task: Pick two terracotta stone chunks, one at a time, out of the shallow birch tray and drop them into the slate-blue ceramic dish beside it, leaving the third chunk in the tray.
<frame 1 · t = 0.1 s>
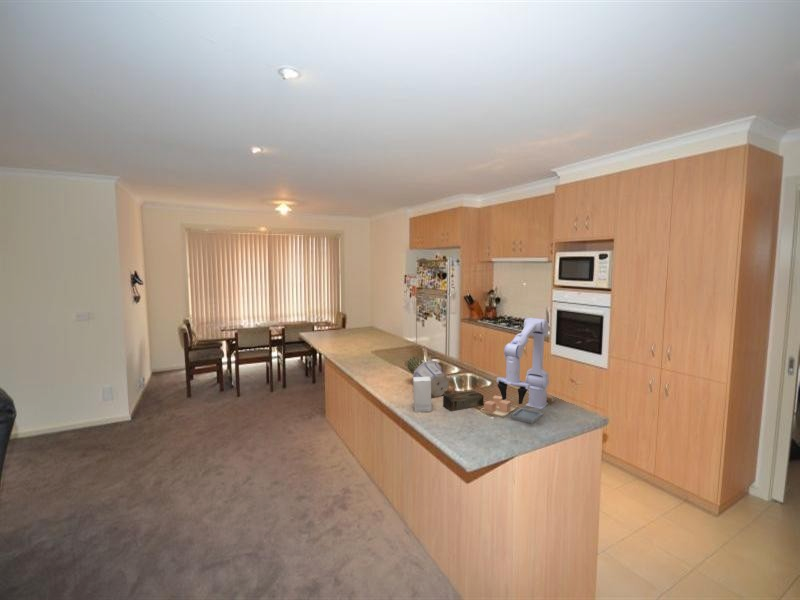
hand: (512, 401, 169), 10 cm above the countertop, fingers open, 7 cm apart
chunk c: (497, 405, 191), resting on birch tray
potted plant: (425, 390, 215), on the countertop
chunk a: (504, 409, 185), resting on birch tray
beverage carton: (463, 407, 190), on the countertop
skincare box: (422, 410, 186), on the countertop
birch tray: (499, 410, 185), on the countertop
slate dish: (526, 417, 177), on the countertop
chunk b: (489, 410, 184), resting on birch tray
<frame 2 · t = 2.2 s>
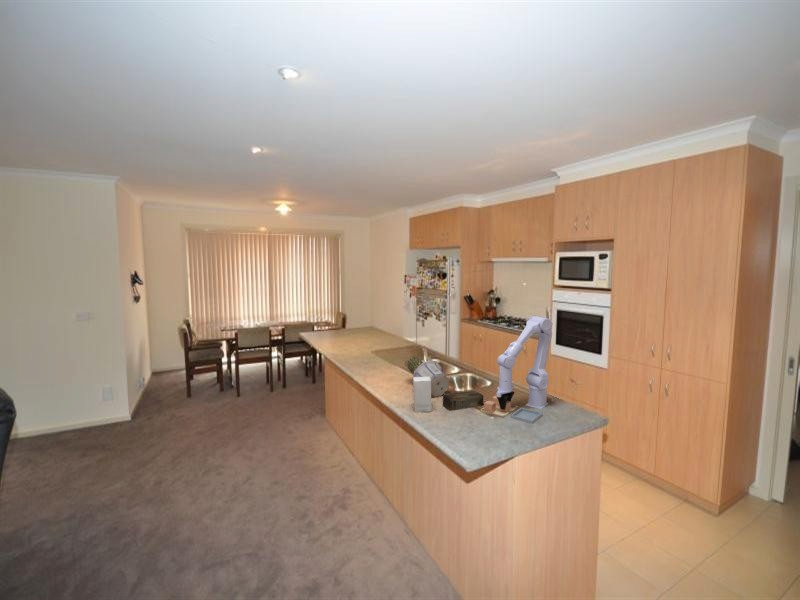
hand: (504, 407, 184), 2 cm above the countertop, fingers closed on chunk a, 4 cm apart
chunk a: (504, 409, 185), resting on birch tray, touching gripper
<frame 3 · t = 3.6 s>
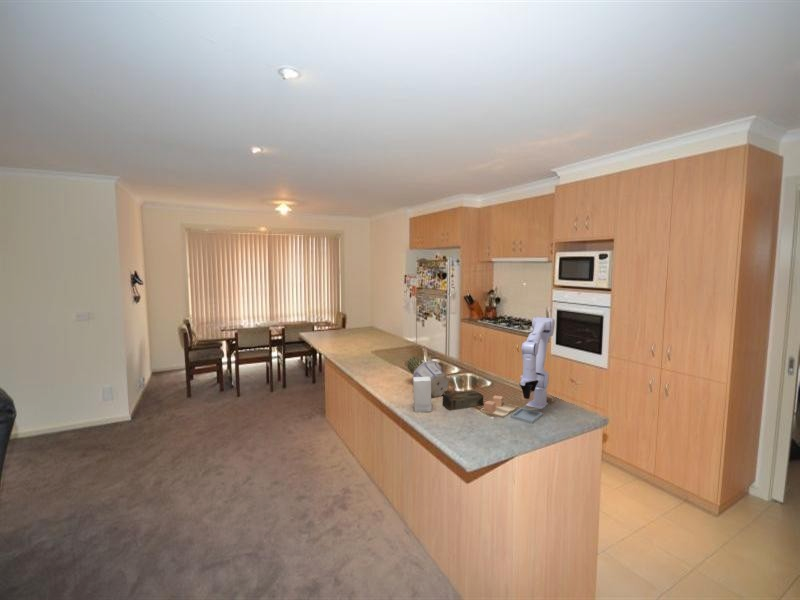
hand: (528, 396, 178), 9 cm above the countertop, fingers closed on chunk a, 4 cm apart
chunk a: (527, 399, 178), point 8 cm above the countertop, touching gripper
everything else where it was.
when the fingers open (3 cm above the countertop, at t = 5.2 s): chunk a drops 2 cm, resting on slate dish.
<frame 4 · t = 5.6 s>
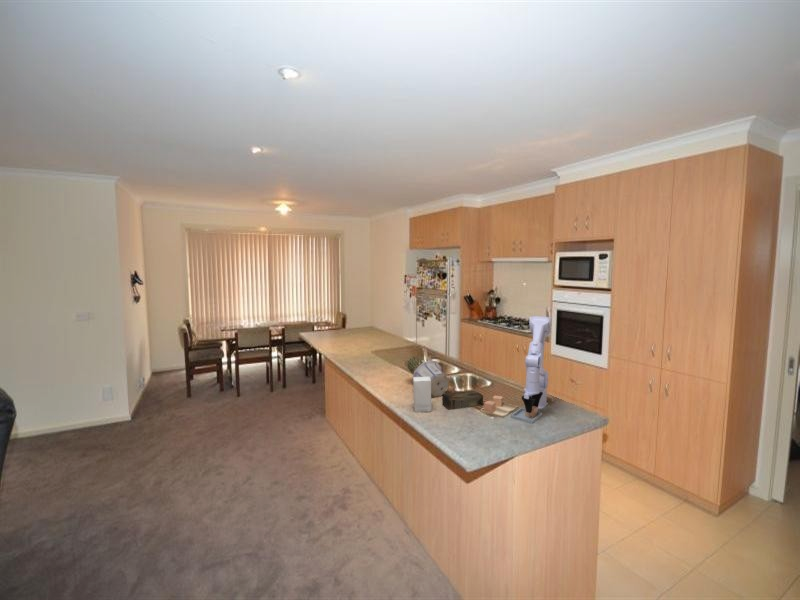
hand: (532, 409, 177), 3 cm above the countertop, fingers open, 7 cm apart
chunk a: (531, 415, 178), resting on slate dish
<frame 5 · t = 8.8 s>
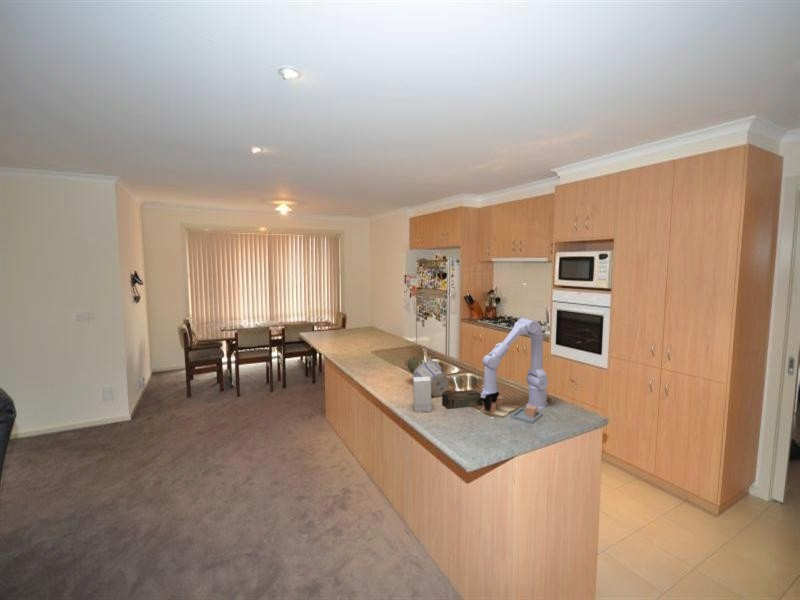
hand: (489, 408, 183), 2 cm above the countertop, fingers closed on chunk b, 4 cm apart
chunk b: (489, 410, 184), resting on birch tray, touching gripper
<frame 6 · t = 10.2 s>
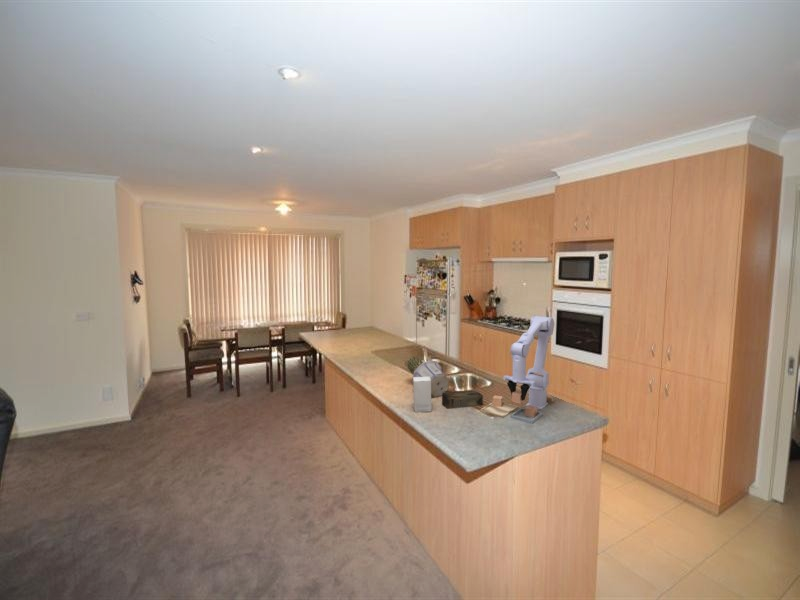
hand: (518, 398, 176), 9 cm above the countertop, fingers closed on chunk b, 4 cm apart
chunk b: (518, 401, 176), point 8 cm above the countertop, touching gripper
when the fingers open (3 cm above the countertop, at t = 11.8 s): chunk b drops 2 cm, resting on slate dish.
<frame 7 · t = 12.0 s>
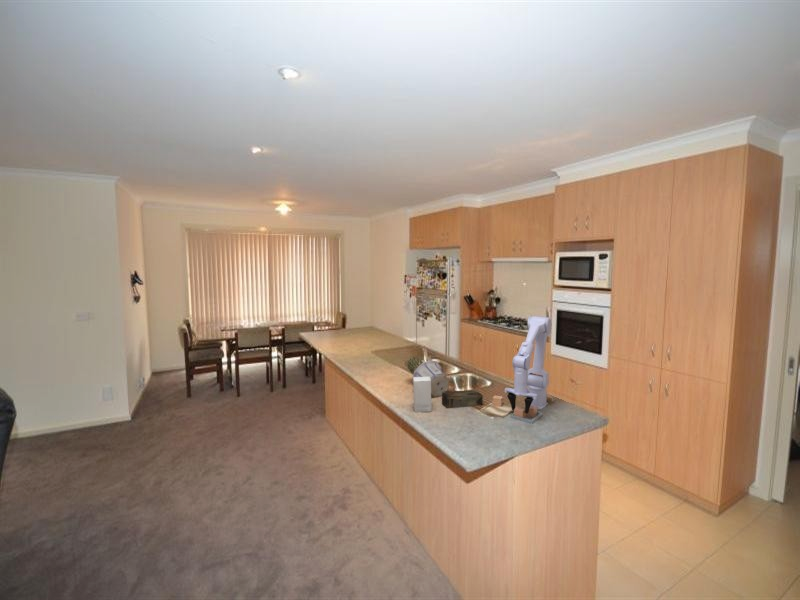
hand: (520, 411, 176), 3 cm above the countertop, fingers open, 6 cm apart
chunk b: (519, 417, 176), resting on slate dish
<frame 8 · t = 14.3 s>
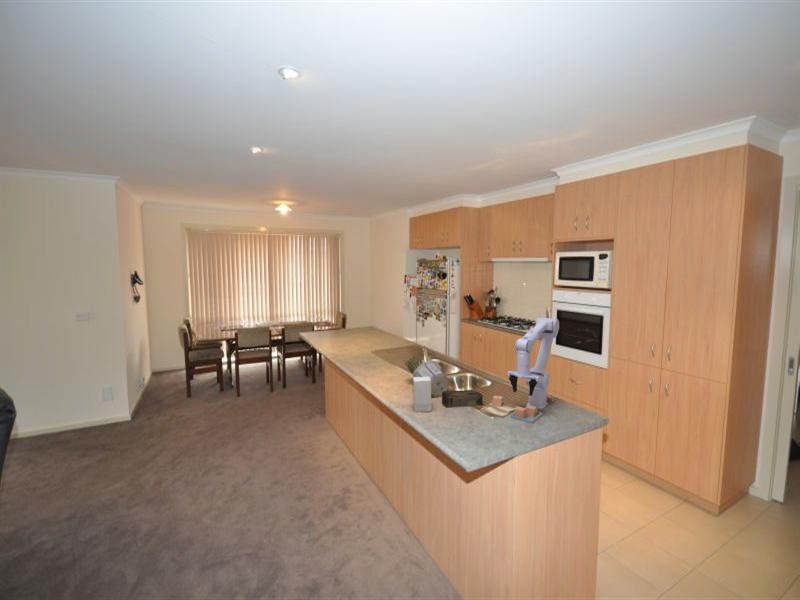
hand: (522, 393, 180), 10 cm above the countertop, fingers open, 7 cm apart
at the end: chunk a inside the target area on the slate dish (2.7 cm from its centre), point 0.4 cm above the slate dish's base; chunk b inside the target area on the slate dish (3.4 cm from its centre), point 0.4 cm above the slate dish's base; the gripper is holding nothing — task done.
